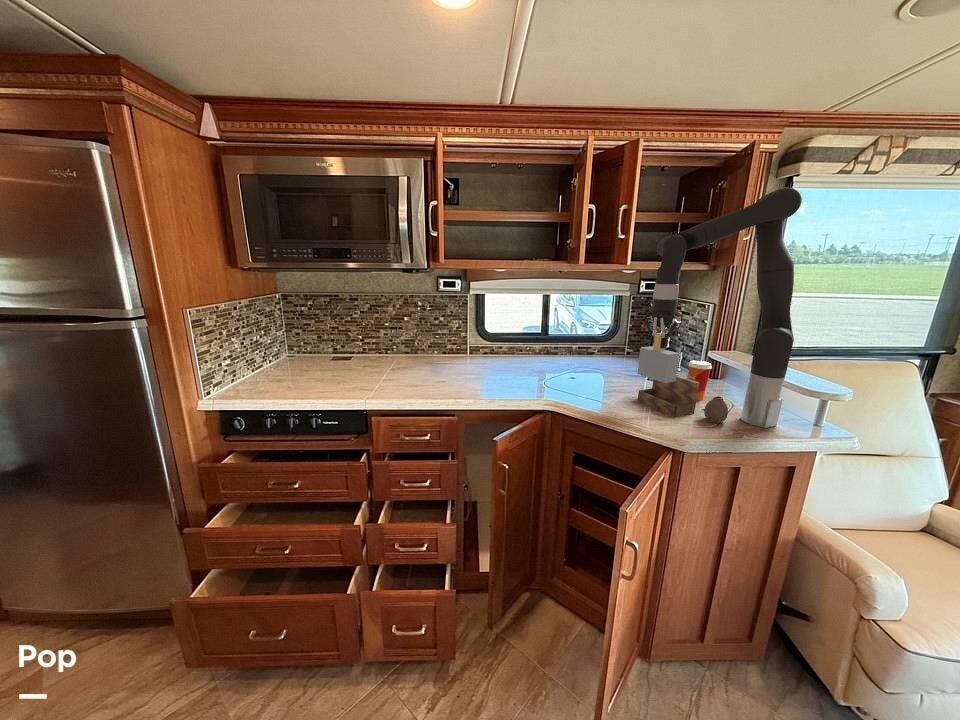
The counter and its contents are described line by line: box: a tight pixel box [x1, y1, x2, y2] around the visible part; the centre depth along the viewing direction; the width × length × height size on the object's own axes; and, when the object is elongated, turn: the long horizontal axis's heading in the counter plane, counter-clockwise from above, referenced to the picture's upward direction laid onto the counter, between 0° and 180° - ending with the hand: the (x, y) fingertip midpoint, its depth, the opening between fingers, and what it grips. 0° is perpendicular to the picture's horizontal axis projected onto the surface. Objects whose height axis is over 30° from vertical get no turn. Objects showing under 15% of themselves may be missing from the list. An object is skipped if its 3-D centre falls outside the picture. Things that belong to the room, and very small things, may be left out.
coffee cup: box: [687, 359, 713, 402], centre depth 145 cm, size 8×8×15 cm
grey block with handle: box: [637, 332, 680, 383], centre depth 128 cm, size 12×5×16 cm, turn 23°
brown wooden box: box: [637, 374, 700, 418], centre depth 137 cm, size 18×10×12 cm, turn 22°
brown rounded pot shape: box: [703, 395, 729, 424], centre depth 125 cm, size 7×7×9 cm
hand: (659, 347), depth 127 cm, fingers closed on grey block with handle, 2 cm apart
